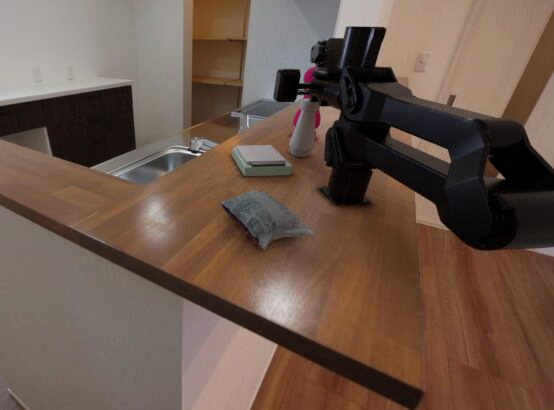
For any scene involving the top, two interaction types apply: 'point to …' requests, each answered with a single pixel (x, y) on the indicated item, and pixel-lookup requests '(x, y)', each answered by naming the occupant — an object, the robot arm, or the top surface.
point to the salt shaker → (304, 130)
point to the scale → (260, 161)
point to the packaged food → (264, 218)
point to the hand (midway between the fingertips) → (303, 80)
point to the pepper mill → (308, 79)
